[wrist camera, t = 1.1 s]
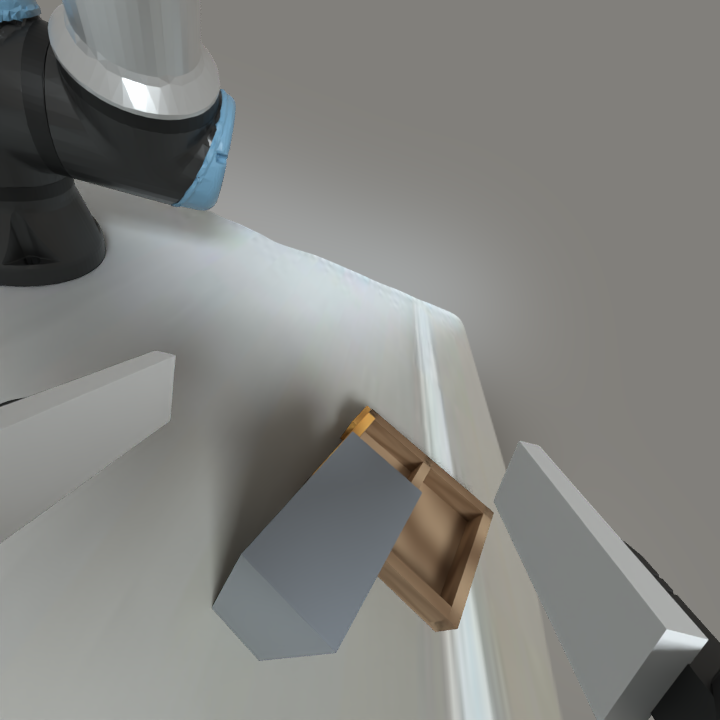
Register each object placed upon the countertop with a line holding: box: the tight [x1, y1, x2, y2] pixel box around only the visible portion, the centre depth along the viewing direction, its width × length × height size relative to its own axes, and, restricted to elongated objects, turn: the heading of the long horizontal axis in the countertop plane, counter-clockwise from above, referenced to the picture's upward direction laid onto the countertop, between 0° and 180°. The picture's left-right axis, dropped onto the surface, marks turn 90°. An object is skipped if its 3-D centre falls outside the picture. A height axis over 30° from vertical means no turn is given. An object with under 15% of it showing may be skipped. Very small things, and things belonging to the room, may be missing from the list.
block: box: [212, 431, 422, 661], centre depth 21 cm, size 8×5×17 cm, turn 145°
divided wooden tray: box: [304, 406, 493, 632], centre depth 33 cm, size 12×18×4 cm
